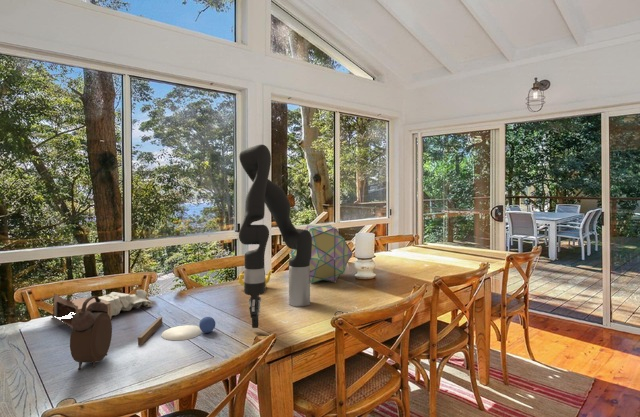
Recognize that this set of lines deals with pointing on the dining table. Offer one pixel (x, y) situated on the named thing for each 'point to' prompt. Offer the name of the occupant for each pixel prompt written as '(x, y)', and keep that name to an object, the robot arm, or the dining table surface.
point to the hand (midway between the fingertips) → (255, 327)
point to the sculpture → (326, 253)
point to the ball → (207, 324)
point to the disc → (181, 332)
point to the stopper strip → (149, 331)
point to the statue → (112, 301)
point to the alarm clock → (91, 333)
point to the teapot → (265, 278)
